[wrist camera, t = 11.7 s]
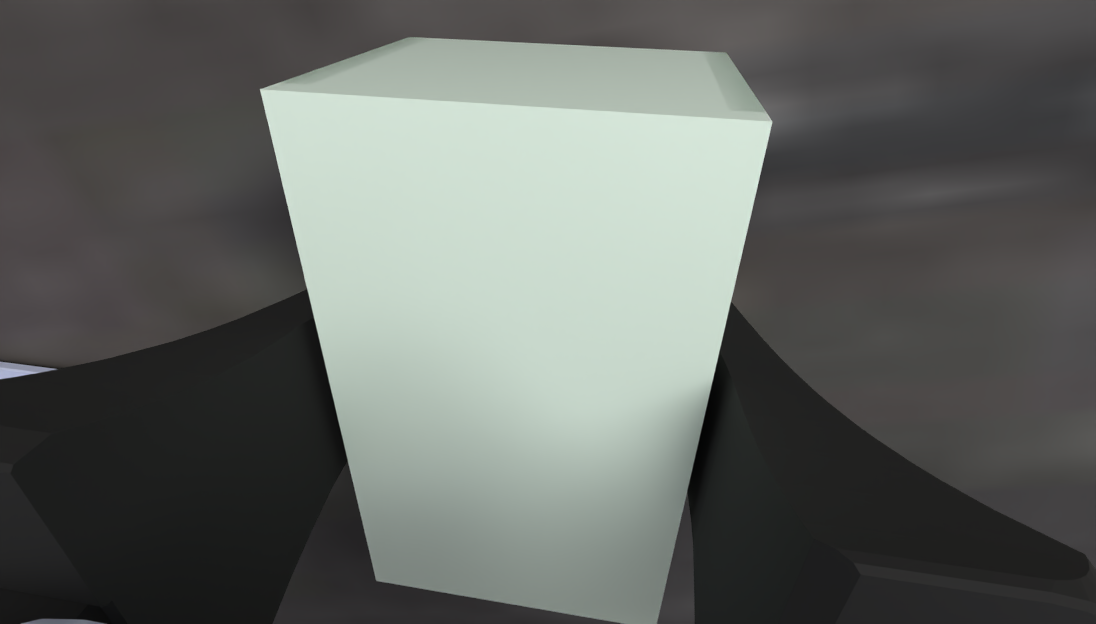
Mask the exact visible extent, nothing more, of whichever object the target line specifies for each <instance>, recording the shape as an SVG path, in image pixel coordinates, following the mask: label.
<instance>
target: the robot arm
mask: <svg viewBox="0 0 1096 624" xmlns="http://www.w3.org/2000/svg"><path fill="white" fill-rule="evenodd" d="M347 461H348V459H347V455H346V451H345V446H344V442H343V438H342V434H341V429H340V425H339V421H338V417H337V412H336V408H335V404H334V400H333V395H332V391H331V387H330V383H329V379H328V374H327V370H326V366H325V362H324V357H323V353H322V349H321V345H320V340H319V336H318V332H317V328H316V323H315V319H314V315H313V311H312V307H311V302H310V298H309V294H308V290H305V291H302V292H300V293H298V294H296V295H294V296H292V297H289V298H287V299H285V300H283V301H280V302H278V303H275V304H273V305H271V306H268V307H266V308H263V309H261V310H259V311H256V312H254V313H251V314H249V315H247V316H244V317H242V318H240V319H237V320H234V321H232V322H229V323H226V324H224V325H221V326H218V327H215V328H213V329H210V330H207V331H204V332H201V333H198V334H195V335H191V336H188V337H185V338H182V339H179V340H176V341H173V342H169V343H166V344H162V345H158V346H154V347H150V348H147V349H143V350H139V351H135V352H131V353H128V354H124V355H120V356H116V357H113V358H108V359H104V360H100V361H95V362H90V363H86V364H81V365H76V366H72V367H67V368H61V369H53V368H45V367H37V366H30V365H22V364H14V363H6V362H0V624H272V623H273V621H274V618H275V616H276V613H277V611H278V608H279V606H280V603H281V601H282V598H283V596H284V593H285V591H286V588H287V586H288V583H289V581H290V579H291V576H292V574H293V572H294V569H295V567H296V565H297V563H298V560H299V558H300V556H301V553H302V551H303V549H304V547H305V544H306V542H307V540H308V537H309V535H310V533H311V531H312V529H313V527H314V524H315V522H316V520H317V518H318V516H319V514H320V512H321V510H322V507H323V505H324V503H325V501H326V499H327V497H328V495H329V493H330V491H331V489H332V487H333V485H334V483H335V481H336V480H337V478H338V476H339V474H340V472H341V471H342V469H343V467H344V466H345V464H346V462H347ZM687 491H688V499H689V506H690V514H691V522H692V534H693V552H694V596H695V624H1096V569H1095V567H1094V566H1093V565H1092V563H1091V562H1090V561H1089V560H1088V558H1087V557H1086V556H1085V554H1083V553H1081V552H1079V551H1077V550H1075V549H1073V548H1071V547H1069V546H1067V545H1065V544H1063V543H1060V542H1058V541H1056V540H1054V539H1052V538H1050V537H1048V536H1046V535H1044V534H1042V533H1040V532H1038V531H1036V530H1034V529H1032V528H1030V527H1028V526H1026V525H1024V524H1022V523H1020V522H1018V521H1015V520H1013V519H1011V518H1009V517H1007V516H1005V515H1003V514H1001V513H999V512H997V511H995V510H993V509H991V508H989V507H988V506H986V505H984V504H982V503H980V502H978V501H977V500H975V499H973V498H971V497H969V496H968V495H966V494H964V493H962V492H961V491H959V490H957V489H955V488H953V487H952V486H950V485H948V484H946V483H945V482H943V481H941V480H939V479H938V478H936V477H934V476H933V475H931V474H929V473H928V472H926V471H924V470H923V469H921V468H920V467H918V466H916V465H915V464H913V463H911V462H910V461H908V460H907V459H905V458H904V457H902V456H901V455H899V454H898V453H896V452H895V451H893V450H892V449H890V448H889V447H887V446H886V445H884V444H883V443H881V442H880V441H878V440H877V439H875V438H874V437H873V436H871V435H870V434H868V433H867V432H866V431H864V430H863V429H861V428H860V427H859V426H857V425H856V424H855V423H853V422H852V421H851V420H850V419H848V418H847V417H846V416H845V415H843V414H842V413H841V412H840V411H838V410H837V409H836V408H834V407H833V406H832V405H831V404H829V403H828V402H827V401H826V400H825V399H823V398H822V397H821V396H820V395H819V394H818V393H816V392H815V391H814V390H813V389H812V388H811V387H810V386H809V385H808V384H807V383H806V382H805V381H803V380H802V379H801V378H800V377H799V376H798V375H797V374H796V373H795V372H794V371H793V370H792V369H791V368H790V367H789V366H788V365H787V364H786V363H785V362H784V361H783V360H782V359H781V358H780V357H779V356H778V355H777V354H776V353H775V352H774V351H773V350H772V349H771V348H770V346H769V345H768V344H767V343H766V342H765V341H764V340H763V339H762V338H761V336H760V335H759V334H758V333H757V332H756V331H755V330H754V328H753V327H752V326H751V325H750V324H749V323H748V321H747V320H746V319H745V318H744V317H743V315H742V314H741V313H740V312H739V311H738V309H737V308H736V307H735V306H734V305H733V304H732V302H731V303H730V308H729V312H728V316H727V321H726V325H725V329H724V334H723V338H722V342H721V347H720V351H719V355H718V360H717V364H716V368H715V373H714V377H713V381H712V386H711V390H710V394H709V399H708V403H707V407H706V412H705V416H704V420H703V425H702V429H701V433H700V438H699V442H698V446H697V451H696V455H695V459H694V464H693V468H692V472H691V477H690V481H689V485H688V490H687Z"/></svg>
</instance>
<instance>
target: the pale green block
mask: <svg viewBox="0 0 1096 624" xmlns="http://www.w3.org/2000/svg"><path fill="white" fill-rule="evenodd" d="M260 91H261V95H262V99H263V103H264V108H265V112H266V116H267V120H268V124H269V129H270V133H271V137H272V141H273V146H274V150H275V154H276V158H277V163H278V167H279V171H280V175H281V180H282V184H283V188H284V192H285V196H286V201H287V205H288V209H289V213H290V218H291V222H292V226H293V230H294V235H295V239H296V243H297V247H298V252H299V256H300V260H301V264H302V268H303V273H304V277H305V281H306V285H307V290H308V294H309V298H310V302H311V307H312V311H313V315H314V319H315V323H316V328H317V332H318V336H319V340H320V345H321V349H322V353H323V357H324V362H325V366H326V370H327V374H328V379H329V383H330V387H331V391H332V395H333V400H334V404H335V408H336V412H337V417H338V421H339V425H340V429H341V434H342V438H343V442H344V446H345V451H346V455H347V459H348V463H349V467H350V472H351V476H352V480H353V484H354V489H355V493H356V497H357V501H358V506H359V510H360V514H361V518H362V523H363V527H364V531H365V535H366V539H367V544H368V548H369V552H370V556H371V561H372V565H373V569H374V573H375V578H376V581H380V582H386V583H392V584H397V585H403V586H409V587H415V588H421V589H426V590H432V591H438V592H444V593H450V594H456V595H461V596H467V597H473V598H479V599H485V600H490V601H496V602H502V603H508V604H514V605H519V606H525V607H531V608H537V609H543V610H548V611H554V612H560V613H566V614H572V615H577V616H583V617H589V618H595V619H601V620H606V621H612V622H618V623H624V624H657V620H658V616H659V611H660V607H661V603H662V598H663V594H664V589H665V585H666V581H667V576H668V572H669V568H670V563H671V559H672V555H673V550H674V546H675V542H676V537H677V533H678V529H679V524H680V520H681V516H682V511H683V507H684V503H685V498H686V494H687V490H688V485H689V481H690V477H691V472H692V468H693V464H694V459H695V455H696V451H697V446H698V442H699V438H700V433H701V429H702V425H703V420H704V416H705V412H706V407H707V403H708V399H709V394H710V390H711V386H712V381H713V377H714V373H715V368H716V364H717V360H718V355H719V351H720V347H721V342H722V338H723V334H724V329H725V325H726V321H727V316H728V312H729V308H730V303H731V299H732V295H733V290H734V286H735V282H736V277H737V273H738V269H739V264H740V260H741V256H742V251H743V247H744V243H745V238H746V234H747V230H748V225H749V221H750V217H751V212H752V208H753V203H754V199H755V195H756V190H757V186H758V182H759V177H760V173H761V169H762V164H763V160H764V156H765V151H766V147H767V143H768V138H769V134H770V130H771V125H772V120H771V119H770V117H769V116H768V114H767V113H766V111H765V110H764V108H763V107H762V105H761V104H760V102H759V101H758V99H757V98H756V96H755V95H754V93H753V92H752V90H751V89H750V87H749V86H748V84H747V83H746V81H745V80H744V78H743V77H742V75H741V74H740V72H739V71H738V69H737V68H736V66H735V65H734V63H733V62H732V60H731V59H730V57H729V56H728V54H727V53H722V52H702V51H681V50H661V49H641V48H620V47H600V46H579V45H559V44H539V43H518V42H498V41H478V40H457V39H437V38H416V37H408V38H405V39H402V40H399V41H397V42H394V43H391V44H388V45H385V46H382V47H379V48H377V49H374V50H371V51H368V52H365V53H362V54H360V55H357V56H354V57H351V58H348V59H345V60H343V61H340V62H337V63H334V64H331V65H328V66H325V67H323V68H320V69H317V70H314V71H311V72H308V73H306V74H303V75H300V76H297V77H294V78H291V79H288V80H286V81H283V82H280V83H277V84H274V85H271V86H269V87H266V88H263V89H260Z"/></svg>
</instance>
